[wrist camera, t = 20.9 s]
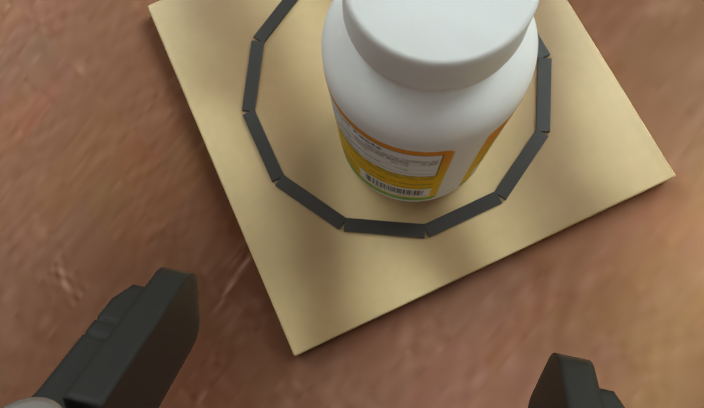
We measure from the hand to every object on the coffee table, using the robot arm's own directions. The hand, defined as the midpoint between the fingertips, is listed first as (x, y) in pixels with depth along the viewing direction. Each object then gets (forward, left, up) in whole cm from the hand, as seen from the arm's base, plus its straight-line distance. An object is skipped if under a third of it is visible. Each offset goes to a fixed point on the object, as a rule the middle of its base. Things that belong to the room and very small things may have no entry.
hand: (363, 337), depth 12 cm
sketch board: (-2, +9, -7) cm, 12 cm away
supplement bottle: (-1, +7, -7) cm, 10 cm away
